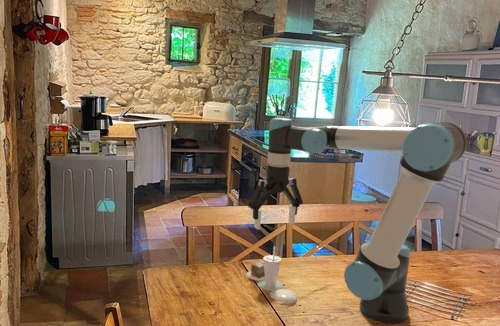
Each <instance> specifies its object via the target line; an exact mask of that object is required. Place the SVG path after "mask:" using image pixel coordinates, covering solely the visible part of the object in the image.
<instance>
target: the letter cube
mask: <svg viewBox="0 0 500 326" xmlns="http://www.w3.org/2000/svg"><path fill="white" fill-rule="evenodd" d="M250 266H251V268H250V269H251V270H250V271H251V275H253V276H255V277H257V278H261V277H264V276H265V273H264V262H261V261H258V262H253V263H252V264H251V265H250Z"/></svg>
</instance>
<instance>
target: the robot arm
mask: <svg viewBox="0 0 500 326" xmlns="http://www.w3.org/2000/svg"><path fill="white" fill-rule="evenodd" d="M467 141H468V140H467V136H466V134H465V132H464V130H463V129H462V128H461V127H460V126H459V125H457V124H455V123H452V122H449V121H448V122H447V121H442V122H441V121H440V122H427V123H423V124H419V125H418V126H416V127H401V126H399V127H397V126H395V127H393V126H392V127H391V126H390V127H388V126H387V127H386V126H353V125H351V126H349V125H345V126H343V125H340V126H339V125H334V124H333V125H331V124H329V125H328V124H327V125H323V126H310V127H307V126H306V127H305V126H295V125H294V121H293V119H291V118H286V117H273V118H272V119H270V121H269V129H268V150H267V162H266V163H267V165H266V180H264V179H260V178H259V179H258V180H257V185H256V188H255V190H254V191H253V194H252V196H251V198H250V200H249V202H248V204H247V207H248V208H249V209H251V210H252V219H254V225H253V228H255V229H256V230H258V231H259V230H261V219H262V210H261V208H262V206H263V205H264V203H266V201H267V200H268V198H269V197H270V196H271V195H272V194H277V193H283V194H284V195H285V196H286V198H287V199H288V201H289V202H290V203H291V204H290V205H289V206H288V207H289V210H288V224H289V225H291V226H295V223H296V216H297V214H298V208H300V206H301V205H303V203H304V202H303V201H304V200H303V199H302V196H301V194H300V191H299V188H298V183H297V178H295V177H290V172H291V171H290V169H291V168H290V166H289V165H291V152H292V150H295V151H298V152H299V151H301V152H306V153H309V154H313V153H314V154H319V153H322V152H323V151H324V150H325V149H332V150H333V149H334V150H353V151H370V152H386V153H398V154H400V153H402V157H401V159H400V161H399V166H400V168H401V173H400V175H399V177H398V179H397V181H396V183H395V186H394V188H393V190H392V192H391V195H390V197H389V199H388V200H387V203H386V205H385V207H384V209H383V212H382V213H381V216H380V218H379V220H378V223H377V224H376V226H375V228H374V231H373V233H372V235H371V237H370V239H369V241H368V242H363V243H362V244H361V246H360V247H359V250H358V251H357V255H356V257H355V258H354V260H352V261H351V262H349V263H348V264H347V266H346V267H345V269H344V271H343V273H344V274H343V279H344V282H345V283H346V287H347V289H348V290H349V292H350V293H352V294H353V295H354V296H355V297H356V298H358V299H360V300H359V310H360V311H361V312H362V313H363V314H364V315H365V316H367V317H368V318H371V319H373V320H376V321H379V322H383V323H389V324H390V323H394V324H395V323H402V322H404V321H406V320H407V319H408V318H409V314H410V313H409V312H410V311H409V310H410V307H409V304H408V299H407V294H406V289H407V288H406V287H407V281H408V273H409V272H408V271H409V265H410V259H411V257H410V256H411V250H410V248H409V247H408V246H407V245H405V242H406V240H407V237H408V236H409V234H410V232H411V230H412V227H413V226H414V224H415V222H416V219H417V218H418V216H419V214H420V213H421V210H422V208H423V206H424V204H425V202H426V200H427V198H428V196H429V193H430V192H431V190H432V188H433V186H434V185H435V184H439V183H442V181H443V180H444V178H445V176H446V174H447V172H448V170H449V168H450V167H451V165H452V163H455V162H456V161H459V159H461V158H462V157H463V156H464V154H465V152H466V149H467V147H468V146H467V145H468V142H467ZM289 177H290V178H289ZM288 185H289V187H290V188H291V190H290V189H289V187H288ZM291 191H292V192H291ZM292 193H293V194H292Z"/></svg>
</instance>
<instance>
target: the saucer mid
mask: <svg viewBox="0 0 500 326" xmlns="http://www.w3.org/2000/svg"><path fill="white" fill-rule="evenodd" d="M257 286H258V288H260V289H262V290H264V291H268V292H269V291H270V292H272V291H275V290H278V289H284V284H283V282H282V281H280V280H277V282H276V286H275V287H268V286H266V285H265V280H261V281H257Z"/></svg>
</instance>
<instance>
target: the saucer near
mask: <svg viewBox="0 0 500 326" xmlns="http://www.w3.org/2000/svg"><path fill="white" fill-rule="evenodd" d="M269 296H270V297H271V299H272V300H275V301H278V302H282V303H279V305H280V306H291V305H294V304H296V302H297V301H298V300H297V299H298V295H297V294H296V293H295V292H294V291H293V290H289V289H284V288H282V289H278V290H275V291H270V293H269Z"/></svg>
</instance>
